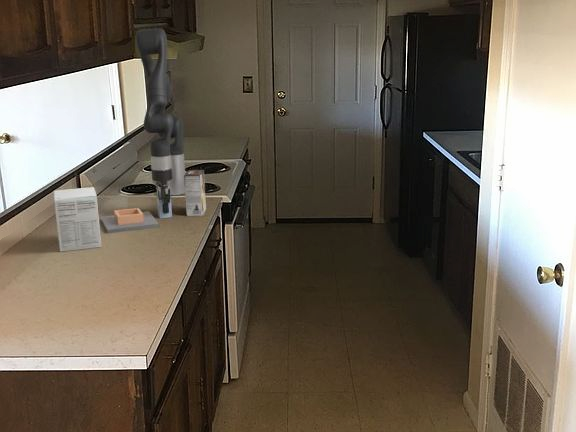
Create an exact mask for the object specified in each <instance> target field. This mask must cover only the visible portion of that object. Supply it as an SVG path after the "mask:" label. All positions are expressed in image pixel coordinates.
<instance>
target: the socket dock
mask: <svg viewBox="0 0 576 432" xmlns="http://www.w3.org/2000/svg"><path fill="white" fill-rule="evenodd" d="M113 214H114V215H113ZM113 214H112V215H105V216H104V215H103V216H100V220H101V222H102V225H103V227H104V229H105V231H106V233H107V234H112V233H121V232H128V231H137V230H144V229H152V228H153V229H154V228H158V227H160V225H159V222H158V221H157V219H156V218H155V217H154V216H153V214H152V213H151V212H150V211H149V210H147V211H141V209H140V208H139V207H134V208H133V207H132V208H123V209H116V210H115V209H114V210H113Z"/></svg>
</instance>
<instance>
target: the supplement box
mask: <svg viewBox="0 0 576 432" xmlns="http://www.w3.org/2000/svg"><path fill="white" fill-rule="evenodd" d="M53 203H54V211H55V220H56V221H55V222H56V230H57V237H58V244H59V251H60V252H61V253H62V252H69V251H79V250H85V249H95V248H97V249H98V248H101V247H102V238H101V228H100V218H99V217H100V216H99V209H98V208H99V207H98V196H97V192H96V190H95V187H93V186H91V187H81V188H79V187H77V188H70V189H66V188H65V189H58V190H57V189H56V190H53Z"/></svg>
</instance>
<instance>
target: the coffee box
mask: <svg viewBox="0 0 576 432" xmlns="http://www.w3.org/2000/svg"><path fill="white" fill-rule="evenodd" d="M184 181H185V193H184V194H185V213H186V217H198V216H199V217H200V216H201V217H202V216H204V215H205V212H206V210H207V203H206V182H205V169H187V172H186V171H185V175H184Z"/></svg>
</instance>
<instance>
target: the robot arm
mask: <svg viewBox="0 0 576 432" xmlns="http://www.w3.org/2000/svg"><path fill="white" fill-rule="evenodd" d="M135 43H136V48H137V50H138V51H137V52H138V55H139V57H140V60H141V62H142V66H143V67H142V68H143V70H144V74H145V75H144V76H145V79H146V100H147V103H146V104H147V105H146V111H145V116H144V119H143V128H144V130H145V132H147V133H149V134H157V135H158V138H155V139H152V140H151V141H150V143H149V145H150V169H151V180H152V181H154V182H155V185H156V195H160V197H161V198H162V206H163V213H164V214H166V213H169V204H168V203H170V196H178V195H184V194H185V181H184V175H185V174H186V170H185V169H186V168H185V154H184V153H185V152H184V151H185V149H184V121H183V119H182V116H180V115H171V114H170V113H167V112H164V111H165V109H166V107H167V106H168V104H169V102H170V100H171V98H172V97H173V96H172V95H173V88H172V87H173V85H172V82H171V78H170V76H169V75H168V74H167V68H168V67H167V64H168V39H167V34H166V31H165V30H164V29H163V28H162V27H161V28H160V27H159V28H158V27H157V28H147V29H146V28H144V29H139V30H137V31H136V33H135ZM151 55H157V56H158V57H157V62H155V60H154V59H153V58H152V56H151ZM171 139H174V141H173V142H171ZM165 198H167V200H165Z"/></svg>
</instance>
